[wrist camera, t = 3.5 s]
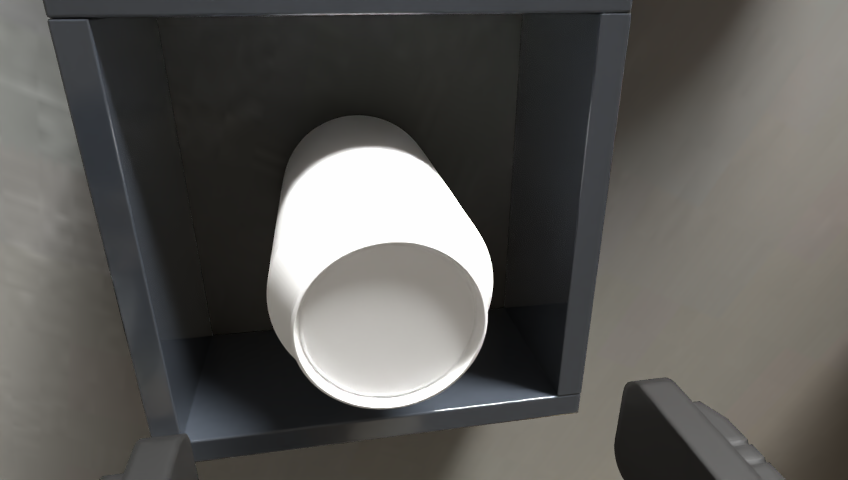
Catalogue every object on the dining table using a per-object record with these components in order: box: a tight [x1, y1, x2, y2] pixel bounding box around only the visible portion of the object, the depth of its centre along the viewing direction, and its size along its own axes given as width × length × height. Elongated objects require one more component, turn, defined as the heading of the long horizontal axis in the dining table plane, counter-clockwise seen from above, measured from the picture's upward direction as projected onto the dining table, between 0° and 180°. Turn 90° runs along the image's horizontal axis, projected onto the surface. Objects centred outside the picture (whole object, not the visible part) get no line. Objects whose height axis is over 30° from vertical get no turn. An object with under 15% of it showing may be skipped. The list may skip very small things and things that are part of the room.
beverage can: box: [267, 115, 493, 409], centre depth 19 cm, size 6×6×12 cm
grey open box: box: [43, 0, 633, 462], centre depth 22 cm, size 16×16×7 cm
